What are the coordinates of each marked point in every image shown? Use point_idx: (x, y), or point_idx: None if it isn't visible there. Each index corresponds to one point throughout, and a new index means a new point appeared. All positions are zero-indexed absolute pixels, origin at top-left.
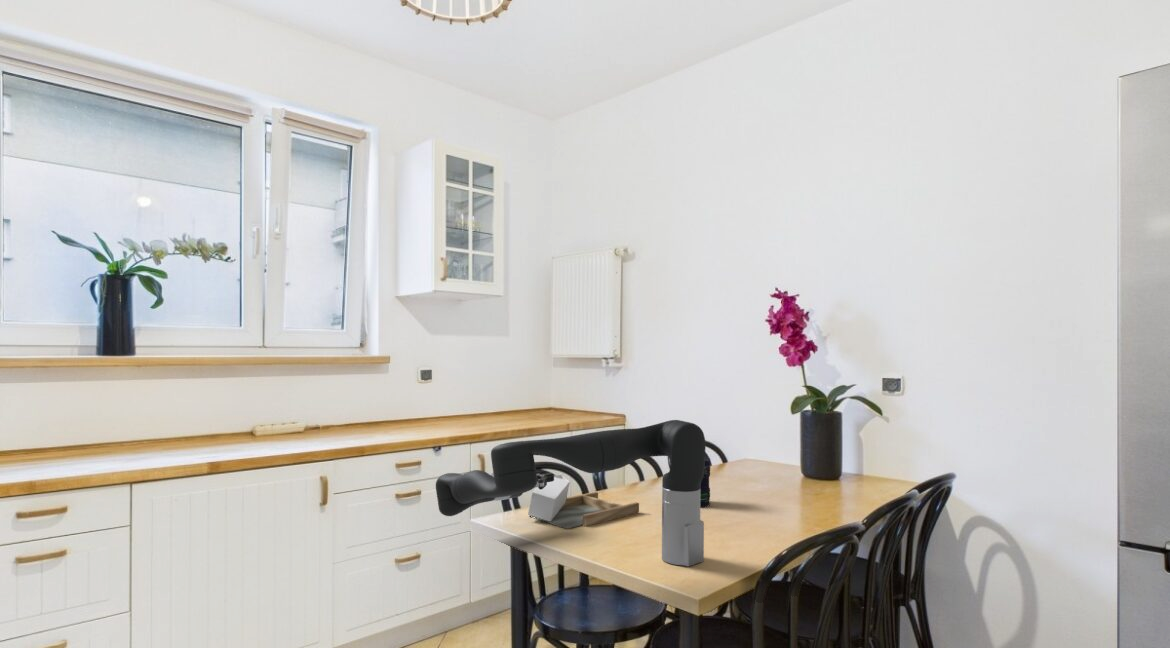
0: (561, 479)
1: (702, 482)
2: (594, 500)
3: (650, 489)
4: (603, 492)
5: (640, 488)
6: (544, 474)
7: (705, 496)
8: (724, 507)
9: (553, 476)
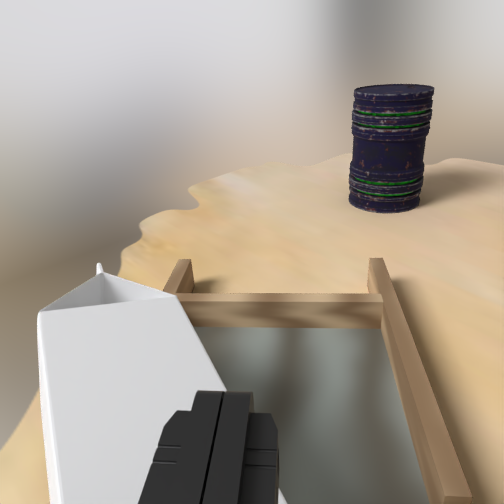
0: (130, 305)
1: (424, 146)
2: (240, 305)
3: (226, 193)
4: (147, 239)
5: (203, 197)
6: (199, 491)
7: (422, 177)
8: (441, 190)
9: (271, 422)
